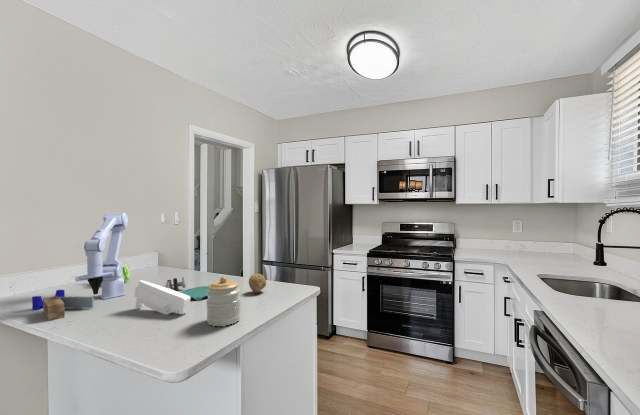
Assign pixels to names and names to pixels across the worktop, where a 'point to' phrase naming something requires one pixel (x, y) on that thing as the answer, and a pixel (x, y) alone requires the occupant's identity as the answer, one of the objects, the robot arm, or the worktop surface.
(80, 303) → the door
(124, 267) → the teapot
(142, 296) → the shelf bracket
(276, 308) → the worktop surface
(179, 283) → the bike brake
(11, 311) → the worktop surface
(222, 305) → the jar
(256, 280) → the natural sponge
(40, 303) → the cable clip
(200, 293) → the teal cloth
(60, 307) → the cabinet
